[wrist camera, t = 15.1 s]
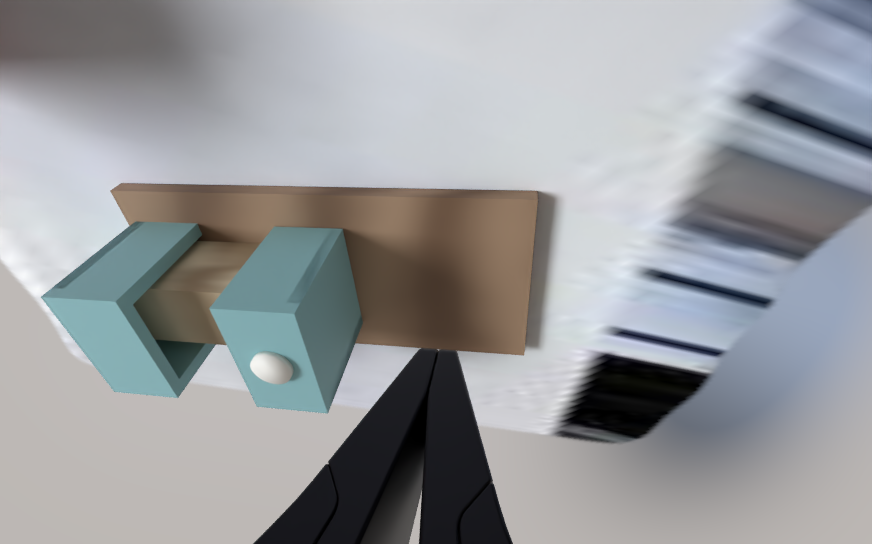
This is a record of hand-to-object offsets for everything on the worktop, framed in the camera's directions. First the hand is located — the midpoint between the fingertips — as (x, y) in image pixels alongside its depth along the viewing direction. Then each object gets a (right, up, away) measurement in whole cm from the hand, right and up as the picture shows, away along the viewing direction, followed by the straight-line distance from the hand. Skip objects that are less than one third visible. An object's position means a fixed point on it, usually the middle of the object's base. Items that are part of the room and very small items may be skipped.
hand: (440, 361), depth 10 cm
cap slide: (-6, +2, +14) cm, 16 cm away
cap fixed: (-14, +2, +15) cm, 21 cm away
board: (-6, +2, +15) cm, 16 cm away
